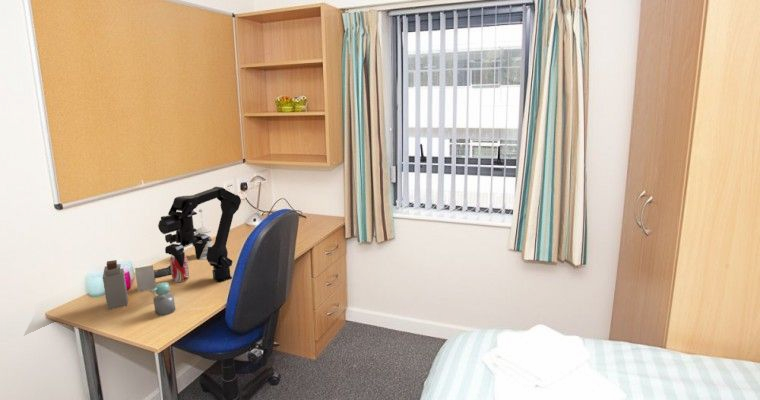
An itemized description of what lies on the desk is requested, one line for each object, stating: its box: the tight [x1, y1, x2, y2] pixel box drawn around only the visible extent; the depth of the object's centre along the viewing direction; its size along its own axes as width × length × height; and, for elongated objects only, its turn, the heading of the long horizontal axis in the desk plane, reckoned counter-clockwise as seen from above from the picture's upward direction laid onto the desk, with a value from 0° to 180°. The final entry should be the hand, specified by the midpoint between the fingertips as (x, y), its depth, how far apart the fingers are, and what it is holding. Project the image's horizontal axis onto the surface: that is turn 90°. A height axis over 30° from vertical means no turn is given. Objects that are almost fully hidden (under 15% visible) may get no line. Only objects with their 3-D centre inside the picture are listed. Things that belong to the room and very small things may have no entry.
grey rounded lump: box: [153, 293, 176, 317], centre depth 170 cm, size 7×7×6 cm
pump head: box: [150, 281, 170, 298], centre depth 167 cm, size 7×5×5 cm, turn 160°
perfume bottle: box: [102, 259, 129, 310], centre depth 174 cm, size 7×7×18 cm
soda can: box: [169, 254, 190, 283], centre depth 198 cm, size 7×7×12 cm
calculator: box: [153, 264, 172, 279], centre depth 208 cm, size 9×12×3 cm
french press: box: [192, 208, 214, 260], centre depth 226 cm, size 10×12×25 cm
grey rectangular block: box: [134, 264, 156, 293], centre depth 190 cm, size 4×7×10 cm, turn 118°
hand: (190, 263), depth 184 cm, fingers open, 9 cm apart
